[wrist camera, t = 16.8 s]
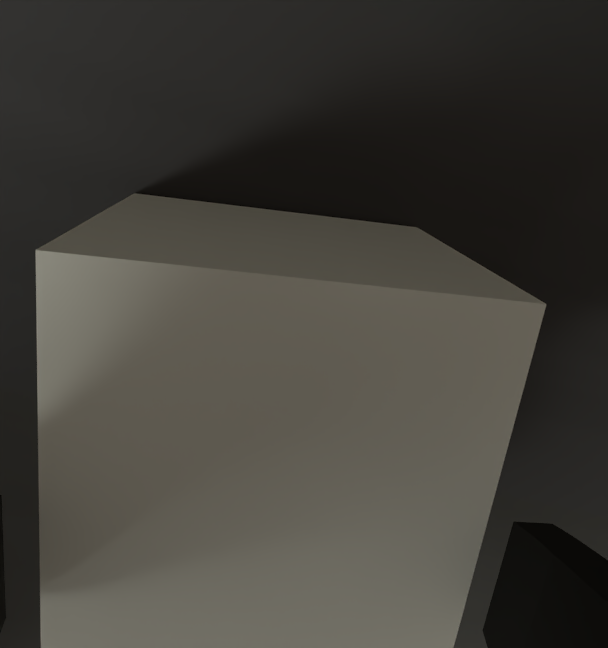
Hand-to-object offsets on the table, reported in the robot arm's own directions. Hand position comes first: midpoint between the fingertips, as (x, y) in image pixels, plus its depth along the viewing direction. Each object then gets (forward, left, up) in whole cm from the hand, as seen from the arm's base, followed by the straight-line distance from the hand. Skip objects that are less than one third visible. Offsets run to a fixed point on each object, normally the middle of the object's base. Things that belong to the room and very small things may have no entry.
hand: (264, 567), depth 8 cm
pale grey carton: (0, 0, -7) cm, 7 cm away
